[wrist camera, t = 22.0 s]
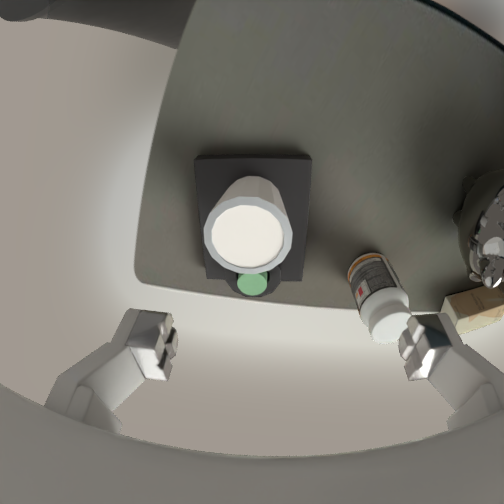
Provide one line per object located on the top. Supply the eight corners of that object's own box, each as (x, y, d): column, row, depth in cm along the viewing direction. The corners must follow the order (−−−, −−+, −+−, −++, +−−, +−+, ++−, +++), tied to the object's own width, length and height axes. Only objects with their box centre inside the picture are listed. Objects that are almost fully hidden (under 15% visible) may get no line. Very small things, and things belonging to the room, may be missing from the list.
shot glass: (204, 192, 27) (185, 225, 21) (264, 156, 25) (262, 179, 19) (242, 244, 30) (235, 287, 24) (300, 214, 28) (308, 252, 22)
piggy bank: (424, 251, 31) (466, 314, 21) (458, 136, 23) (527, 170, 13) (480, 258, 31) (520, 311, 21) (513, 162, 23) (572, 199, 13)
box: (509, 302, 28) (458, 321, 30) (500, 321, 31) (450, 340, 32) (494, 280, 33) (444, 295, 34) (486, 299, 35) (438, 315, 37)
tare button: (238, 262, 30) (236, 272, 28) (267, 262, 29) (267, 272, 28) (239, 284, 31) (237, 295, 30) (266, 285, 31) (266, 296, 30)
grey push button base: (197, 155, 27) (188, 164, 24) (309, 155, 26) (315, 164, 23) (210, 276, 35) (204, 295, 32) (300, 279, 34) (302, 298, 31)
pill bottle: (339, 284, 34) (355, 345, 26) (357, 245, 31) (383, 304, 23) (377, 291, 35) (399, 349, 26) (396, 255, 32) (428, 311, 23)
